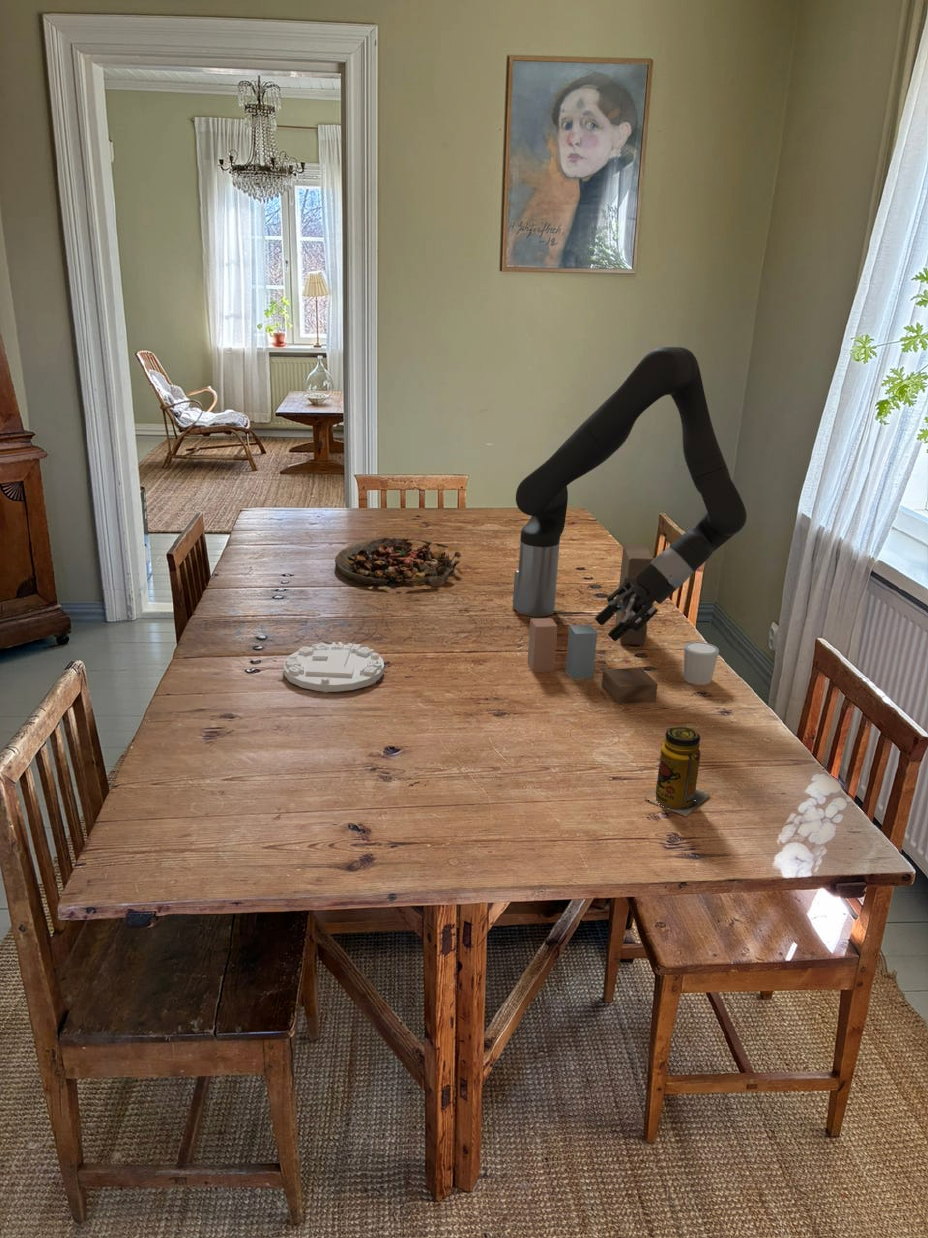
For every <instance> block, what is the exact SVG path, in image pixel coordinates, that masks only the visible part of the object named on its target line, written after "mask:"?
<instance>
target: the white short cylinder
mask: <svg viewBox="0 0 928 1238" xmlns="http://www.w3.org/2000/svg"><path fill="white" fill-rule="evenodd" d="M683 651H684V652H683V655H684V656H683V677H682V678H683V680H684V681H686V682H687V683H690V684H692V685H698V686H703V685H704V686H706V685H709V684H710V683H712V680H713V677H714V676H713V675H714V672H715V668H716V665H717V660H718V656H719V654H720V650H719V648H718V647H717V646H716V645H714V644H712V643H708V642H704V641H691V642H687V643H685V644H684V648H683Z"/></svg>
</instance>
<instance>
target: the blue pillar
mask: <svg viewBox="0 0 928 1238" xmlns="http://www.w3.org/2000/svg"><path fill="white" fill-rule="evenodd" d="M597 639H598V632H597V631H596V629H594V627H593V626H592V625H591V624H579V625H578V624H573V625H572V624H571V625H569V626H568V636H567V649H566V660H565V672H566V674H567V675H568V676H569V678H570V679H571V680H591V679H594V671H595V662H596V661H595V660H596V651H597V650H596V649H597V641H598V640H597Z"/></svg>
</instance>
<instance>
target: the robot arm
mask: <svg viewBox="0 0 928 1238" xmlns="http://www.w3.org/2000/svg"><path fill="white" fill-rule="evenodd" d="M701 374H702V373H701V371H700V366H699V363H698V360H697V357H696V356H695V354H694V353H693V352H692V351H691V350H690V349H688V348H685V347H683V346H664V347H663V346H662V347H661V346H660V347H658V348H657V347H656V348H654V349H652V350H651V351H649V352H648V353H646V354H645V356H644V357H643V358H642V359H641V360H640V361H639V363H638V364H637V365H636V366H635V367H634V369H633V370H632V372H631V373H630V374H629V375H628V376H627V378H626V379H625V380H624V382H623V383H622V384H621V385H620V386H619V387H618V389H617V390H616V391H615V392H614V393H613V394H611V395H610V396H609V397H608V398H607V399H606V400H605V401H604V402H603V403H601V405H600V406H599V407H598V408H597V409H596V410H595V411H593V413H591V415H589V416H588V417H587V419H585V420H584V421H583V422H582V424H580V426H579V427H577V429H576V430H575V431H574V432H573V433H571V435H570V436H569V437H568V438H567V439H566V440H565V441H564V442H563V444H561V445H560V447H558V449H556V450H555V452H554V453H553V454H551V456H550V457H549V458H548V459H547V460H546V461H545V462H544V463H542V464H541V465H540V466H539V467H537V468H536V469H535V470H533V471H532V472H531V473H529V474H528V475H527V476H526V477H524V478H523V480H522V481H521V482H519V485H518V487H517V489H516V491H515V492H516V493H515V503H516V505H517V508H518V509H519V510H520V512H521V513H523V514H524V515H526V516H531V517H530V518H529V520H528V521H527V523H526V524H525V525H524V526H522V528H521V530H520V539H519V556H518V569H517V570H515V571H514V579H513V593H512V595H513V596H512V610H515V611H516V612H518V613H520V614H521V615H524V616H527V617H528V616H529V617H538V618H539V617H540V618H541V617H547V616H550V615H552V614H554V612H555V606H556V591H557V582H558V581H557V579H558V568H559V555H560V554H559V553H560V545H561V544H560V541H561V536H562V535H563V532H564V529H565V526H566V525H565V524H566V517H567V508H568V501H569V492H568V486H569V485H570V484H571V483H572V482H574V481H576V480H577V479H580V478H581V477H582V476H585V475H586V474H588V473H590V472H591V471H592V470H595V469H597V468H598V466H601V465H602V464H604V463H605V461H607V460H608V459H609V458H610V457H612V456H613V455H614V454H615V453H616V452H617V451H618V450H619V449H620V448H621V447H622V446H623V445H624V444H625V442H626V441H627V439H629V436H630V434H631V432H632V430H633V427H634V425H635V423H636V421H637V420H638V418H639V417H640V416H641V414H643V413H644V412H645V411H646V410H647V409H648V408H650V407H651V406H652V405H653V404H655V402H657V401H658V400H660V399H661V398H663V397H664V396H669V395H670V396H671V398H672V400H673V402H674V404H675V406H676V408H677V411H678V413H679V417H680V422H681V430H682V451H683V456H684V461H685V463H686V466H687V468H688V472H689V474H690V477H691V479H692V481H693V484H694V487H695V489H696V491H697V492H698V493H699V494H700V495H701V498H702V501H703V504H704V507H705V509H706V513H705V514H704V515H703V516H702V517H701V518H700V519H699V520H698V521H697V522H696V523H695V524H694V525H693V526H692V527H691V529H689V530H687V531H686V532H684V533H683V534H681V535H680V536H679V537H678V538H677V539H676V540H675V541H674V542H673V543H671V545H669V547H667V548H666V549H665V550H663V551H661V552H660V553H659V554H658V555H656V556H655V558H654V560H652V561H651V562H650V563H649V564H648V565H647V566H646V567H645V568H644V569H643V570H642V571H641V572H639V573H638V574H637V575H636V576H635V579H636V581H637V584H635V585H634V586H633V585H632V584H631V583H630V582H629V581H626V582H625V583H624V584H623V585H621V586H620V587H619V586H618V588H616V590H614V591H613V592H612V593H611V594H610V595H609V596H608V597H606V601H607V603H606V604H607V606H605V607H604V609H603V610H601V611H600V612H599V613H598V614H597V615H596V616H595V617H594V619H595V621H596V622H597V623H598V624H599V625H600V626H604V625H605V624H606V623H607V622H608V621H609V620H611V618H612V617H614V616H615V614H616V613H617V612H619V611H621V610H623V611H625V612H626V615H625V617H624V619H623V621H622V622H623V623H622V622H620V623H619V624H618V625H616V626H615V625H614V627H613V628H612V629H611V630H610V631H609V632H608V633H607V634H608V636H609V638H611V640H612V641H613V642H617V641H618V640H619V638H620V637H621V636H623V635H624V634H625V633H626V632H627V631H628V630H629V629H630V630H632V629H634V630H635V631H638V630H639V629H640V628H642V627H643V626H644V625H645V624H646V623H648V622H649V621H650V620H651V619H652V618H653V617H654V616H656V614H657V613H659V612H658V611H659V610H658V608H657V607H656V606H655V605H654V603H655V602H656V603H657V604H659V605H660V604H662V603H664V602H665V601H666V600H667V599H668V598H669V597H671V595H672V594H673V593H675V592H676V591H677V590H678V589H679V588H680V587H681V586H682V585H683V584H685V583H686V581H688V579H689V578H690V577H691V576H692V575H693V574H694V573H695V572H696V571H697V570H698V569H700V567H701V566H702V565H703V564H705V562H707V560H708V559H709V558H710V557H711V556H712V555H713V553H714V552H715V551H716V550H717V549H719V548H721V546H723V545H724V544H725V543H726V542H727V541H729V540H730V539H731V538H732V537H733V536H735V535H736V534H737V533H739V532H740V531H741V530H742V529H743V528H744V527H745V525H746V523H747V517H748V516H747V510H746V506H745V504H744V502H743V499H742V497H741V495H740V494H739V492H738V489H737V487H736V486H735V483H734V482H733V481H732V479H731V476H730V472H729V468H728V466H727V463H726V461H725V458H724V456H723V453H722V450H721V448H720V445H719V443H718V439H717V437H716V433H715V430H714V427H713V424H712V420H711V419H712V418H711V417H710V411H709V408H708V403H707V398H706V393H705V389H704V385H703V380H702V375H701ZM623 591H624V592H623ZM618 605H619V606H618ZM617 606H618V607H617ZM630 618H631V619H630ZM629 619H630V620H629ZM641 619H642V620H641ZM640 620H641V621H640ZM637 621H640V622H639V623H638V624H637Z"/></svg>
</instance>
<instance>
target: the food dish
mask: <svg viewBox="0 0 928 1238" xmlns="http://www.w3.org/2000/svg"><path fill="white" fill-rule="evenodd" d="M412 540H413V539H410V538H407V537H406V538H404V537H403V538H401V537H394V538H390V537H387V536H385V537H381V538H376V539H372V540H368V541H362V542H359V543H356V544H353V545H349V546H348V547H346V548H344V549H341V551H339V552H338V554H336V556H335V559H334V562H335V566H334V570H335V571H336V572H338V573H339V574H340V575H343V576H345V577H347V578H348V580H353V581H355V582H356V583H359V584H365V585H374V586H380V587H382V586H387V587H388V588H389V587H390V588H399V587H410V586H426V585H427V586H431V587H432V586H433V587H439V586H442V585H444V584H445V583H446V582H447V580H448V579H449V578H450V577H451V576H456V575H455V568H456V567H457V565H458V564H459V563H460V562H461V560H455V561H454V563H452V562H453V560H454V558H455V557H456V558H457V559H459V558H461V557H462V554H461V553H460V552H459V551H455V553H454V555H453V557H452V558H451V559H450V554H449V553H447V554H446V551H442V550H436V551H431V547H430V546H431V545H436V546H437V547H441V548H449V546H448V544H442V543H439V542H434V543H433V542H431V541H428V540H425V539H423V540H422V539H415V541H417V542H423V543H425V544H423V546H421V547H419V546H417V545H413V543H412V542H410V541H412Z"/></svg>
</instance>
